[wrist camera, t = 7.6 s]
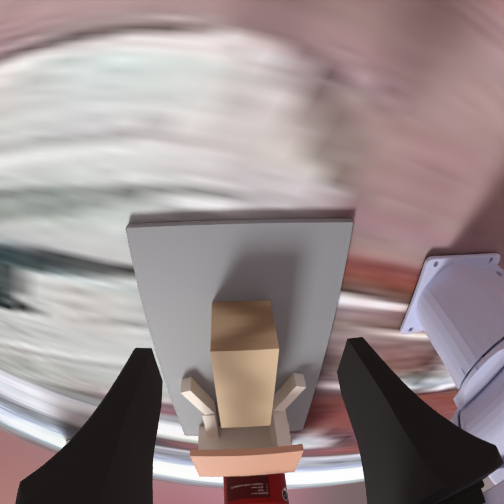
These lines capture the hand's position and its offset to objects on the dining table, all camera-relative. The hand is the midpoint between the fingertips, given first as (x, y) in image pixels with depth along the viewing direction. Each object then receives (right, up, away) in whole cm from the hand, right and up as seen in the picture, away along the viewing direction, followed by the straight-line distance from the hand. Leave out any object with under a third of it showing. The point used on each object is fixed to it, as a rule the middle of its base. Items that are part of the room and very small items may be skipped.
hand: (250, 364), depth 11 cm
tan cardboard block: (-1, -4, +13) cm, 13 cm away
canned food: (0, -22, +25) cm, 33 cm away
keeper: (-1, -6, +15) cm, 16 cm away
